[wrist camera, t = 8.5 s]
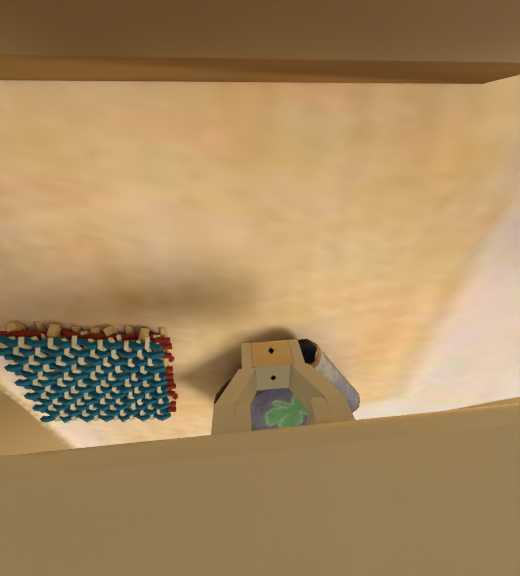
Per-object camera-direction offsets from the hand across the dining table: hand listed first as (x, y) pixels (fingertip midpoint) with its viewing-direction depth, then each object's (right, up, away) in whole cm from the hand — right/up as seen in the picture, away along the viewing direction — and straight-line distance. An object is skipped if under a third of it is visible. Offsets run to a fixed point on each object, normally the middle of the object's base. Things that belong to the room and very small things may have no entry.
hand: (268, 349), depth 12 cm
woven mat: (-13, -3, +6) cm, 14 cm away
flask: (-1, -2, +7) cm, 8 cm away
